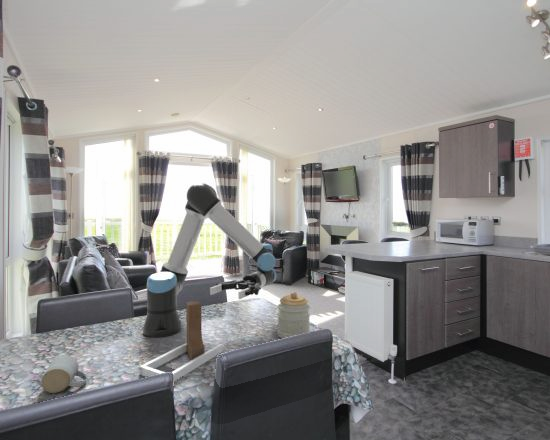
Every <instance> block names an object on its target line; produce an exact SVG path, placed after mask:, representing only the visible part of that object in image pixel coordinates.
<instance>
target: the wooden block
mask: <svg viewBox="0 0 550 440" xmlns="http://www.w3.org/2000/svg"><path fill="white" fill-rule="evenodd" d="M185 305H186V307H185V308H186V309H185V311H186V313H185V314H186V321H185V322H186V343H187V352H186V353H187V355H188V357H189V359H190V360H189V361H192V360H193V359H195V358H197V357H198V356H200V355H202V354H204V353H205V345H204V341H203V337H202V336H203V334H202V332H203V331H202V303H201V302H200V301H199V300H195V301H194V300H193V301H187V302H186V303H185Z"/></svg>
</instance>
